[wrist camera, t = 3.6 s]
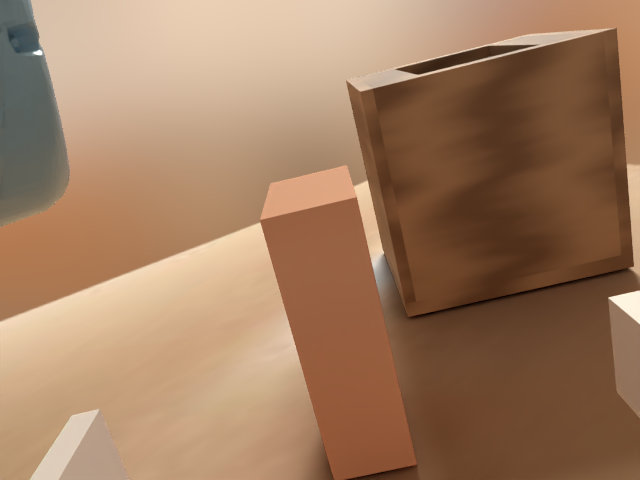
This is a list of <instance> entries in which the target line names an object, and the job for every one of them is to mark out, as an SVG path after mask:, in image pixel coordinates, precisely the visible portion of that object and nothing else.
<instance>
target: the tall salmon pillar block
mask: <svg viewBox="0 0 640 480" xmlns="http://www.w3.org/2000/svg"><path fill="white" fill-rule="evenodd" d="M260 222H261V225H262V229H263V232H264V236H265V240H266V243H267V247H268V250H269V254H270V257H271V261H272V264H273V268H274V271H275V275H276V278H277V282H278V285H279V289H280V292H281V296H282V299H283V303H284V306H285V310H286V313H287V317H288V320H289V324H290V327H291V331H292V335H293V338H294V342H295V345H296V349H297V352H298V356H299V359H300V363H301V366H302V370H303V373H304V377H305V380H306V384H307V387H308V391H309V394H310V398H311V401H312V405H313V408H314V412H315V415H316V419H317V422H318V426H319V430H320V433H321V437H322V440H323V444H324V447H325V451H326V454H327V458H328V461H329V465H330V468H331V472H332V475H333V479H334V480H345V479H350V478H355V477H360V476H364V475H369V474H374V473H379V472H384V471H388V470H393V469H398V468H403V467H408V466H413V465H417V462H416V458H415V453H414V449H413V445H412V440H411V436H410V431H409V427H408V422H407V418H406V414H405V409H404V405H403V400H402V396H401V391H400V387H399V382H398V378H397V374H396V369H395V365H394V360H393V356H392V351H391V347H390V343H389V338H388V334H387V329H386V325H385V320H384V316H383V312H382V307H381V303H380V298H379V294H378V289H377V285H376V281H375V276H374V272H373V267H372V263H371V258H370V254H369V249H368V245H367V241H366V236H365V232H364V227H363V223H362V218H361V214H360V210H359V205H358V201H357V197H356V193H355V190H354V187H353V184H352V181H351V178H350V175H349V171H348V168H347V166H341V167H337V168H333V169H329V170H325V171H321V172H316V173H313V174H308V175H304V176H300V177H296V178H291V179H287V180H283V181H279V182H275V183H271V184H270V187H269V191H268V194H267V197H266V201H265V205H264V208H263V211H262V215H261V218H260Z"/></svg>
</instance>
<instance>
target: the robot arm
mask: <svg viewBox="0 0 640 480" xmlns="http://www.w3.org/2000/svg"><path fill="white" fill-rule="evenodd" d="M69 174H70V169H69V161H68V156H67V149H66V143H65V138H64V134H63V128H62V124H61V119H60V115H59V110H58V106H57V102H56V98H55V94H54V90H53V85H52V81H51V78H50V74H49V70H48V66H47V62H46V59H45V55H44V52H43V50H42V47H41V46H40V44H39V33H38V30H37V26H36V23H35V20H34V16H33V10H32V5H31V1H30V0H0V227H2V226H5V225H7V224H10V223H13V222H15V221H18V220H21V219H24V218H27V217H29V216H32V215H35V214H37V213H40V212H43V211H45V210H47V209H48V208H50V207H51V206H52V205H54V204H55V202H56V201H58V200H59V199H60V198H61V197H62V196H63V194H64V193H65V190H66V188H67V186H68V182H69ZM608 302H609V314H610V325H611V336H612V347H613V359H614V370H615V381H616V392H617V393H618V394H619V395H620V397H621V398H622V399H623V400H624V401H625V402H626V403H627V404H628V406H629V407H630V408H631V409H632V410H633V411H634V412H635V413H636V415H637V416H638V417H639V418H640V291H635V292H631V293H626V294H622V295H617V296H613V297H608ZM30 480H130V479H129V477H128V474H127V472H126V469H125V467H124V465H123V462H122V460H121V458H120V455H119V453H118V451H117V448H116V446H115V443H114V441H113V439H112V436H111V434H110V432H109V429H108V427H107V425H106V422H105V420H104V417H103V415H102V413H101V410H100V409H98V410H93V411H89V412H84V413H79V414H75V415H72V416H71V417H70V419H69V420H68V422H67V423H66V425H65V427H64V428H63V430H62V431H61V433H60V434H59V436H58V437H57V439H56V440H55V442H54V443H53V445H52V446H51V448H50V449H49V451H48V452H47V454H46V456H45V457H44V459H43V460H42V462H41V463H40V465H39V466H38V468H37V469H36V471H35V472H34V474H33V475H32V477H31V478H30Z"/></svg>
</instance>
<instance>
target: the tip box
mask: <svg viewBox="0 0 640 480" xmlns="http://www.w3.org/2000/svg"><path fill="white" fill-rule="evenodd" d="M618 55H619V54H618V41H617V28H611V29H596V30H582V31H569V32H554V33H540V34H529V35H524V36H520V37H516V38H512V39H508V40H505V41H500V42H496V43H492V44H488V45H484V46H481V47H476V48H472V49H468V50H464V51H460V52H456V53H452V54H448V55H444V56H440V57H436V58H432V59H428V60H424V61H420V62H416V63H412V64H408V65H404V66H400V67H396V68H392V69H388V70H384V71H380V72H376V73H372V74H368V75H364V76H360V77H356V78H352V79H348V80H346V82H347V87H348V91H349V96H350V101H351V105H352V110H353V114H354V119H355V124H356V128H357V132H358V137H359V142H360V147H361V151H362V155H363V160H364V165H365V169H366V174H367V178H368V183H369V188H370V192H371V197H372V202H373V206H374V211H375V215H376V220H377V224H378V229H379V234H380V238H381V243H382V247H383V251H384V254H385V256H386V259H387V262H388V264H389V267H390V270H391V273H392V275H393V278H394V281H395V283H396V286H397V289H398V292H399V294H400V297H401V300H402V302H403V305H404V308H405V311H406V313H407V316H408V317H411V316H415V315H420V314H424V313H429V312H433V311H438V310H442V309H447V308H451V307H456V306H460V305H464V304H469V303H473V302H478V301H482V300H487V299H491V298H496V297H500V296H505V295H509V294H514V293H518V292H522V291H527V290H531V289H536V288H540V287H545V286H549V285H554V284H558V283H563V282H567V281H572V280H576V279H580V278H585V277H589V276H594V275H598V274H603V273H607V272H612V271H616V270H621V269H625V268H630V267H634V262H633V248H632V234H631V220H630V207H629V193H628V179H627V165H626V152H625V138H624V124H623V110H622V96H621V82H620V68H619V56H618Z"/></svg>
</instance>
